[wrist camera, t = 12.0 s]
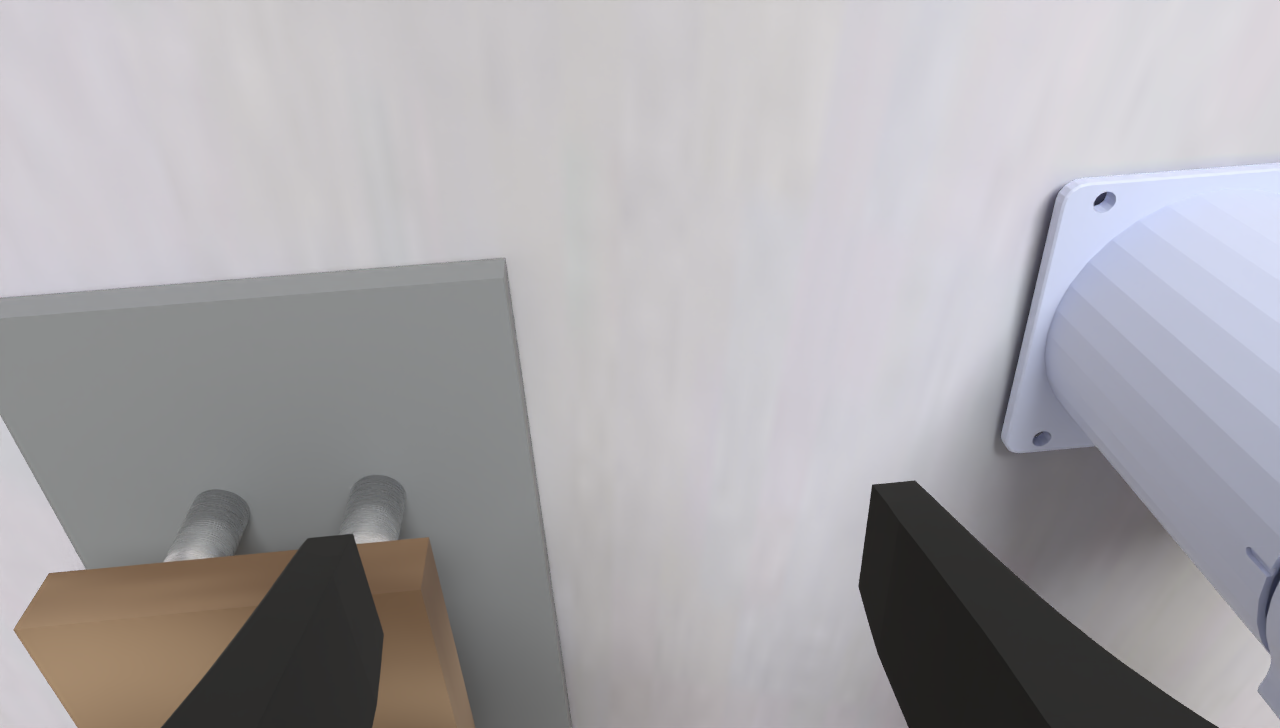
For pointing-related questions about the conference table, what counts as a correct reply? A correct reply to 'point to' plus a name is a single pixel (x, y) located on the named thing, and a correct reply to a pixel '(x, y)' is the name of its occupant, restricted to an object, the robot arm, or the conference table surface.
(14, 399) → the peg stand
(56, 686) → the wooden t-shaped block
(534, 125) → the conference table surface
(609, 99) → the conference table surface
